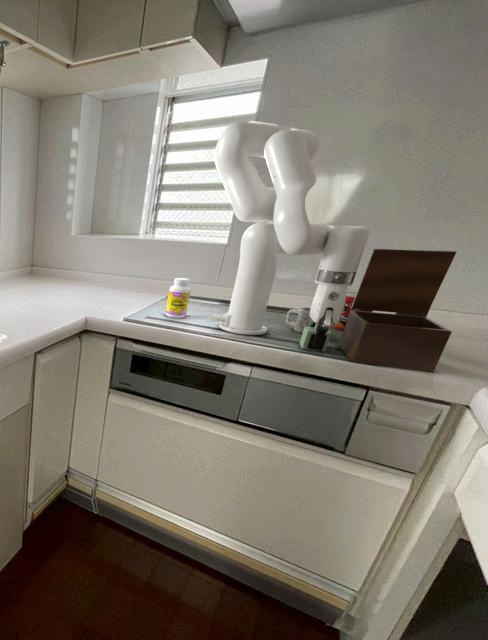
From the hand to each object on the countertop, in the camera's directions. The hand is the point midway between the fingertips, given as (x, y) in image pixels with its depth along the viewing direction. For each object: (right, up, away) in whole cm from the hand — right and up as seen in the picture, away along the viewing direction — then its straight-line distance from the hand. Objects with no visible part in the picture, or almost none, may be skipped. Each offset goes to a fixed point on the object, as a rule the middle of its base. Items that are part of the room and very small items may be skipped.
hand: (312, 345), depth 108 cm
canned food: (+24, +6, +16) cm, 30 cm away
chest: (+12, -4, -7) cm, 14 cm away
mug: (+9, +6, +16) cm, 19 cm away
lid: (+14, +15, -9) cm, 23 cm away
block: (0, -1, 0) cm, 1 cm away
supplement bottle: (-22, +13, +33) cm, 41 cm away
